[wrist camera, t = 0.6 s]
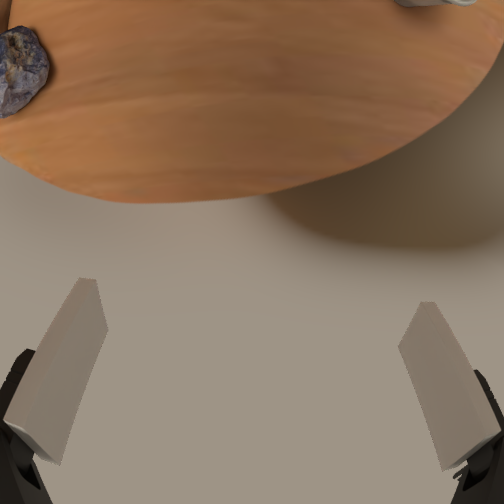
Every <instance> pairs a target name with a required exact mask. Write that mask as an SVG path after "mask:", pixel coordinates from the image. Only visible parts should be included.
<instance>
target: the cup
mask: <svg viewBox="0 0 504 504" xmlns="http://www.w3.org/2000/svg"><path fill="white" fill-rule="evenodd" d="M394 1H395V2H397V3H398V4H400V5H402V6H405V7H414V6H432V5H443V4H455V5H458V6H469V5H472V4H473V3H475V2H476V1H477V0H394Z"/></svg>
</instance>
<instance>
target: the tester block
mask: <svg viewBox="0 0 504 504" xmlns="http://www.w3.org/2000/svg"><path fill="white" fill-rule="evenodd" d="M11 1H12V0H0V34H1V33H3V32H5V31H7V28H8V20H9V13H10V7H11Z"/></svg>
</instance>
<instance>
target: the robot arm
mask: <svg viewBox="0 0 504 504" xmlns="http://www.w3.org/2000/svg"><path fill="white" fill-rule="evenodd" d="M107 332H108V327H107V323H106V319H105V316H104V312H103V308H102V304H101V299H100V295H99V291H98V286H97V283H96V280H94V279H86V278H79V279H78V281H77V282H76V284H75V285H74V287H73V289H72V290H71V292H70V293H69V295H68V296H67V298H66V300H65V301H64V303H63V304H62V306H61V308H60V310H59V311H58V313H57V315H56V316H55V318H54V320H53V321H52V323H51V325H50V327H49V328H48V330H47V332H46V334H45V335H44V337H43V339H42V341H41V343H40V344H39V346H38V348H37V350H36V351H34V350H30V349H26V350H25V351H24V352H22V354H20V355H19V356H18V357H17V358H16V360H15V362H14V364H13V366H12V368H11V372H9V374H8V375H7V377H6V381H4V383H3V385H2V387H1V389H0V504H53V503H52V501H51V500H50V497H49V495H48V492H47V490H46V488H45V486H44V484H43V481H42V479H41V477H40V474H39V472H38V470H37V467H36V464H35V463H34V461H33V459H32V458H33V455H34V452H35V453H36V454H37V455H38V456H39V457H40V458H41V459H43V460H45V461H48V462H51V463H54V464H57V465H59V466H60V464H61V461H62V457H63V454H64V450H65V447H66V444H67V441H68V438H69V434H70V431H71V428H72V425H73V422H74V419H75V416H76V413H77V410H78V407H79V405H80V402H81V399H82V396H83V393H84V390H85V388H86V385H87V382H88V380H89V377H90V374H91V372H92V369H93V367H94V364H95V362H96V359H97V356H98V354H99V352H100V349H101V347H102V344H103V342H104V339H105V337H106V334H107ZM398 348H399V351H400V353H401V355H402V358H403V360H404V363H405V365H406V368H407V370H408V373H409V376H410V378H411V381H412V383H413V386H414V389H415V391H416V394H417V397H418V399H419V402H420V405H421V408H422V410H423V413H424V416H425V419H426V422H427V425H428V428H429V431H430V434H431V437H432V440H433V443H434V446H435V449H436V452H437V455H438V458H439V462H440V465H441V468H442V471H445V470H449V469H452V468H455V467H457V466H459V465H460V464H461V463H462V462H464V461H465V460H467V462H468V465H466V466H465V467H464V468H462V469H461V470H460V471H458V472H457V473H455V475H454V476H453V479H455V478H456V477H458V476H459V475H461V474H462V476H461V477H460V478H459V479H458V481H459V484H458V486H457V489H456V492H455V494H454V497H453V499H452V502H451V504H504V417H503V415H502V412H501V410H500V408H499V406H498V403H497V402H496V399H494V395H493V393H492V391H490V387H489V385H488V383H487V381H486V379H485V378H484V377H483V375H482V374H481V373H480V372H479V371H478V370H473V369H472V367H471V365H470V363H469V361H468V359H467V357H466V355H465V354H464V352H463V350H462V348H461V346H460V344H459V343H458V341H457V339H456V337H455V336H454V334H453V332H452V330H451V329H450V327H449V325H448V323H447V322H446V320H445V318H444V317H443V315H442V314H441V312H440V310H439V309H438V307H437V305H436V303H435V302H421V303H420V305H419V307H418V309H417V312H416V313H415V315H414V317H413V319H412V321H411V323H410V325H409V327H408V329H407V331H406V332H405V334H404V336H403V338H402V340H401V342H400V344H399V345H398Z"/></svg>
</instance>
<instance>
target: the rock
mask: <svg viewBox="0 0 504 504" xmlns="http://www.w3.org/2000/svg"><path fill="white" fill-rule="evenodd" d="M48 71H49V61H48V60H47V55H46V52H45V51H44V49H43V48H42V47H41V46H40V45H39V42H38V38H37V36H36V35H35V34H34V32H33V31H31V30H30V29H29V28H27V27H24V26H17V27H15V28H12V29H10V30H7V31H5V32H3V33H1V34H0V118H6V117H8V116H10V115H12V114H14V113H16V112H17V111H18V110H19V109H21V108H22V107H24V106H25V105H26V104H27V103H28V102H30V99H31V97H33V96H34V95H35V94H36V93H37V92H38V90H39V89H40V88H41V87H42V86H43V85H45V83H46V79H47V77H48Z"/></svg>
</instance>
